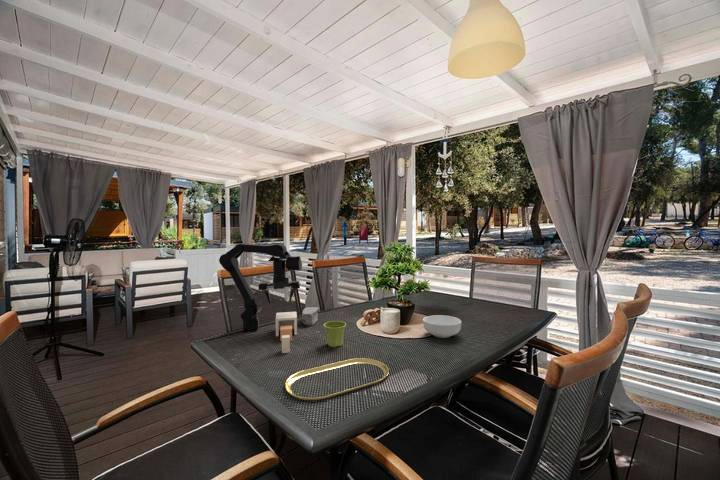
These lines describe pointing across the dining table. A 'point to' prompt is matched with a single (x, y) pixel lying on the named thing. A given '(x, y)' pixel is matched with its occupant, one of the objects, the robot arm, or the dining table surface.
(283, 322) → the white open box
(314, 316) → the decorative stone
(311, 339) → the dining table surface
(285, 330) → the cream and brown mallet
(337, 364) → the serving platter
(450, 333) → the cereal bowl
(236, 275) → the robot arm
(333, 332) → the plant pot
